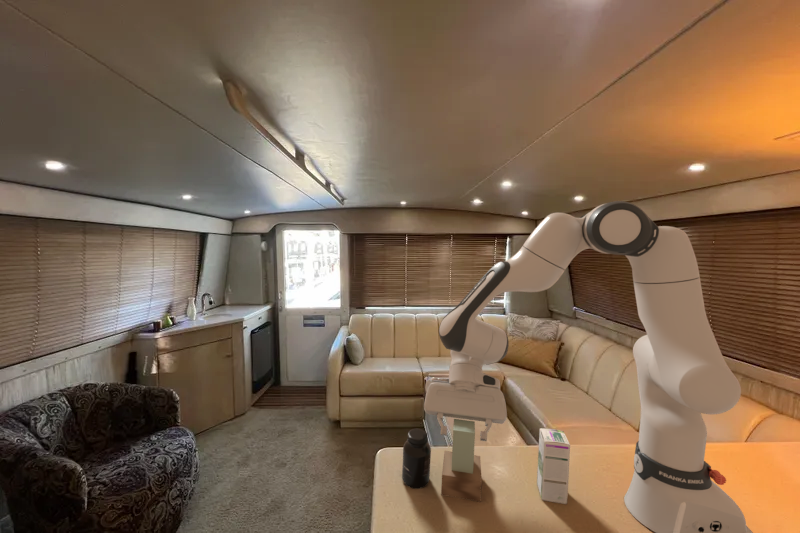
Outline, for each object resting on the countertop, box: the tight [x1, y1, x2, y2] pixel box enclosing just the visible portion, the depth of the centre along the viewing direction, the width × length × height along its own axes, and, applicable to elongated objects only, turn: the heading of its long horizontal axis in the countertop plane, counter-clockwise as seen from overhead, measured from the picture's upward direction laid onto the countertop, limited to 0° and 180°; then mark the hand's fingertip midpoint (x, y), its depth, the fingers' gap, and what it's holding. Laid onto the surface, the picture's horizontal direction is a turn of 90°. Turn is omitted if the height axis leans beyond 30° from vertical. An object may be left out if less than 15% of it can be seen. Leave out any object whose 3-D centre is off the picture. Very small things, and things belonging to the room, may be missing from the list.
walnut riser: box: [440, 450, 483, 503], centre depth 81 cm, size 9×9×5 cm
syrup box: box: [536, 427, 571, 505], centre depth 78 cm, size 6×6×14 cm
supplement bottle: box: [401, 428, 432, 490], centre depth 82 cm, size 7×7×12 cm
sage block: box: [451, 418, 476, 474], centre depth 80 cm, size 5×5×10 cm
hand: (463, 437), depth 79 cm, fingers open, 8 cm apart
